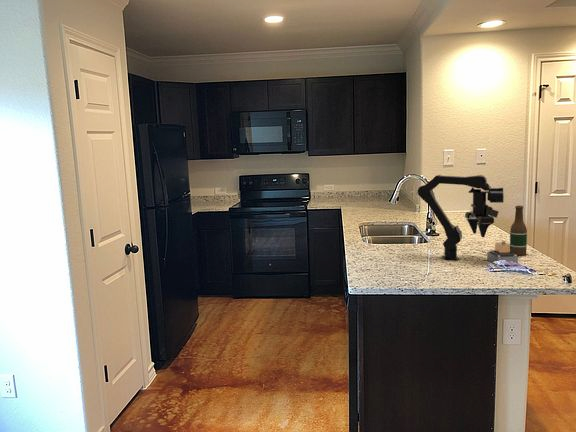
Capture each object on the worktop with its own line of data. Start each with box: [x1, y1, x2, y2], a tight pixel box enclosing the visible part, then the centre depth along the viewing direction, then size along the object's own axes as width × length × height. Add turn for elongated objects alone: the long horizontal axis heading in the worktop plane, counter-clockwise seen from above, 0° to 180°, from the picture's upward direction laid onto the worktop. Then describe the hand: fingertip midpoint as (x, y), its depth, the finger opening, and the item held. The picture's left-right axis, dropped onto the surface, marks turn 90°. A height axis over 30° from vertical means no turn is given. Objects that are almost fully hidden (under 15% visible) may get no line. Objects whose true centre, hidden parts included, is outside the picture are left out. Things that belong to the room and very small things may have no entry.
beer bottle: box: [509, 205, 528, 257], centre depth 229 cm, size 8×8×24 cm
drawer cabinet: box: [486, 249, 519, 264], centre depth 216 cm, size 11×9×5 cm
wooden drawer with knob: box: [494, 240, 510, 254], centre depth 216 cm, size 5×5×9 cm
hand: (478, 235), depth 221 cm, fingers open, 9 cm apart
